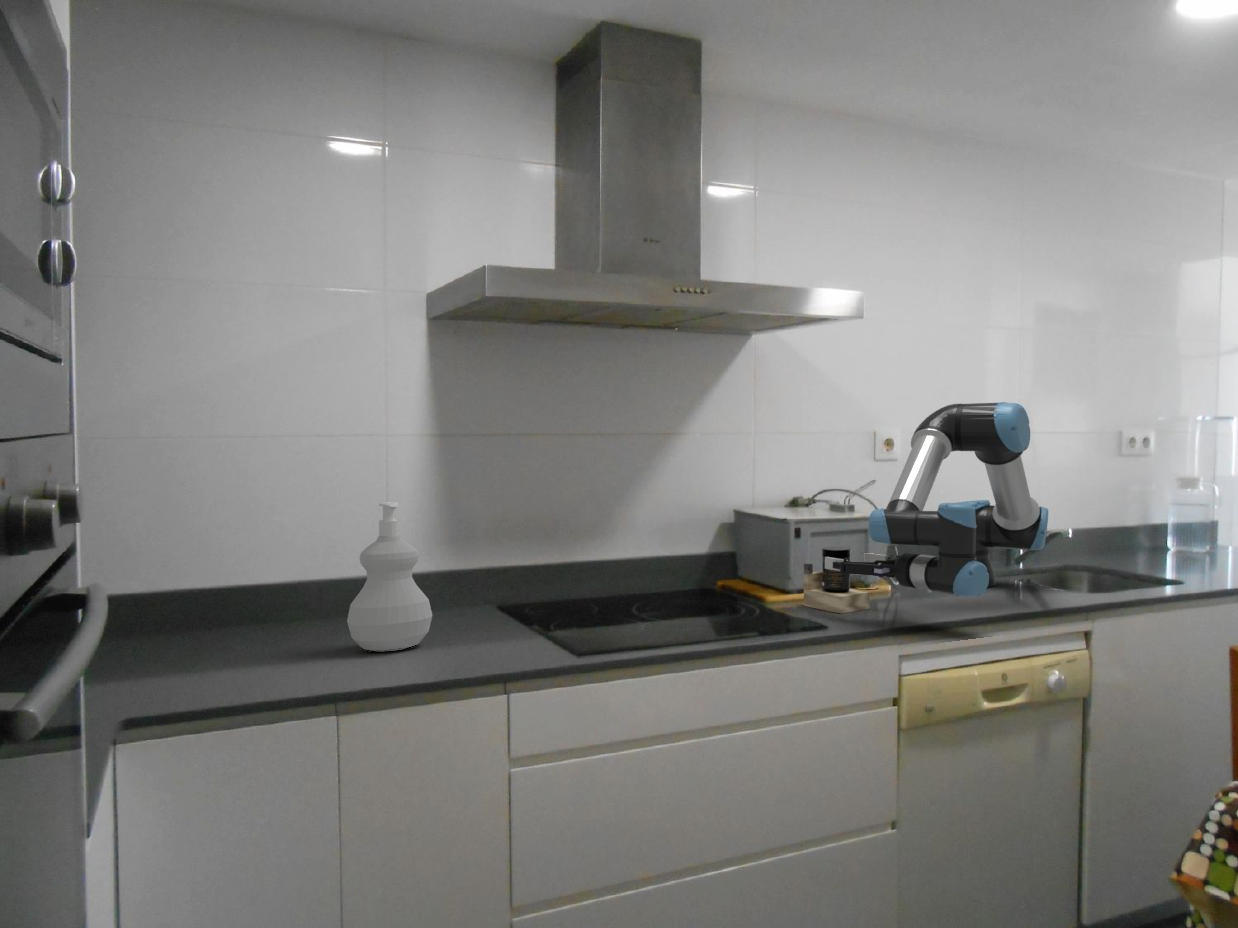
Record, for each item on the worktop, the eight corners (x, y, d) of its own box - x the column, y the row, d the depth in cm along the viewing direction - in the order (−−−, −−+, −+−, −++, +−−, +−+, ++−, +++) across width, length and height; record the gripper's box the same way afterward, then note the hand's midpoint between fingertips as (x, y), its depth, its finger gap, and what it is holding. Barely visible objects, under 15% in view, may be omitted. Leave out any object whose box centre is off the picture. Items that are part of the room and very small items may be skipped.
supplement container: (854, 593, 218) (854, 549, 218) (826, 593, 217) (826, 550, 217) (845, 588, 225) (845, 546, 224) (818, 588, 224) (818, 546, 224)
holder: (831, 601, 229) (831, 560, 229) (869, 608, 219) (869, 565, 219) (803, 605, 223) (803, 563, 223) (840, 613, 214) (841, 569, 213)
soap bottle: (355, 660, 173) (353, 506, 171) (341, 647, 183) (338, 502, 181) (440, 648, 181) (439, 502, 180) (422, 637, 191) (420, 498, 190)
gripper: (880, 594, 193) (808, 580, 211) (954, 582, 207) (880, 571, 225) (880, 559, 193) (808, 548, 211) (954, 550, 207) (881, 541, 225)
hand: (845, 560), depth 218 cm, fingers open, 13 cm apart
